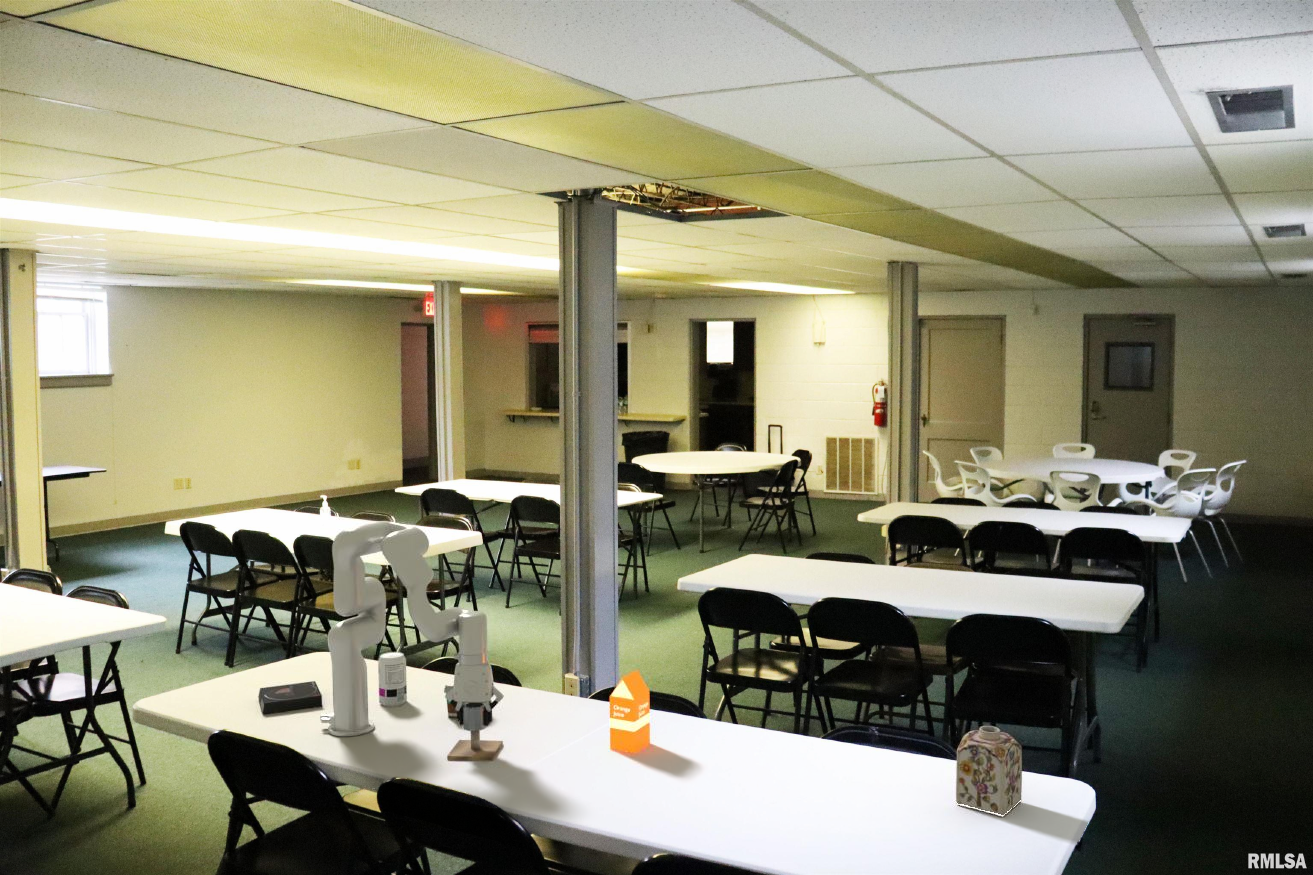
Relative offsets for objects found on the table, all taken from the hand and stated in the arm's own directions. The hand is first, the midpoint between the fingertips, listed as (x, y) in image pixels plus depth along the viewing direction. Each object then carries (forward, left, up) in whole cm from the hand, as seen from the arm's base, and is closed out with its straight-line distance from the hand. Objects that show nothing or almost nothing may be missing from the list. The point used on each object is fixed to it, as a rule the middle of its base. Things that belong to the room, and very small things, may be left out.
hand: (474, 723), depth 284 cm
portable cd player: (-68, +37, -8) cm, 78 cm away
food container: (-10, +29, -8) cm, 32 cm away
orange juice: (+41, +7, -8) cm, 42 cm away
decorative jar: (+129, -25, -8) cm, 132 cm away
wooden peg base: (0, 0, -8) cm, 8 cm away
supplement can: (-36, +39, -8) cm, 54 cm away
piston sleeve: (0, 0, -1) cm, 1 cm away
